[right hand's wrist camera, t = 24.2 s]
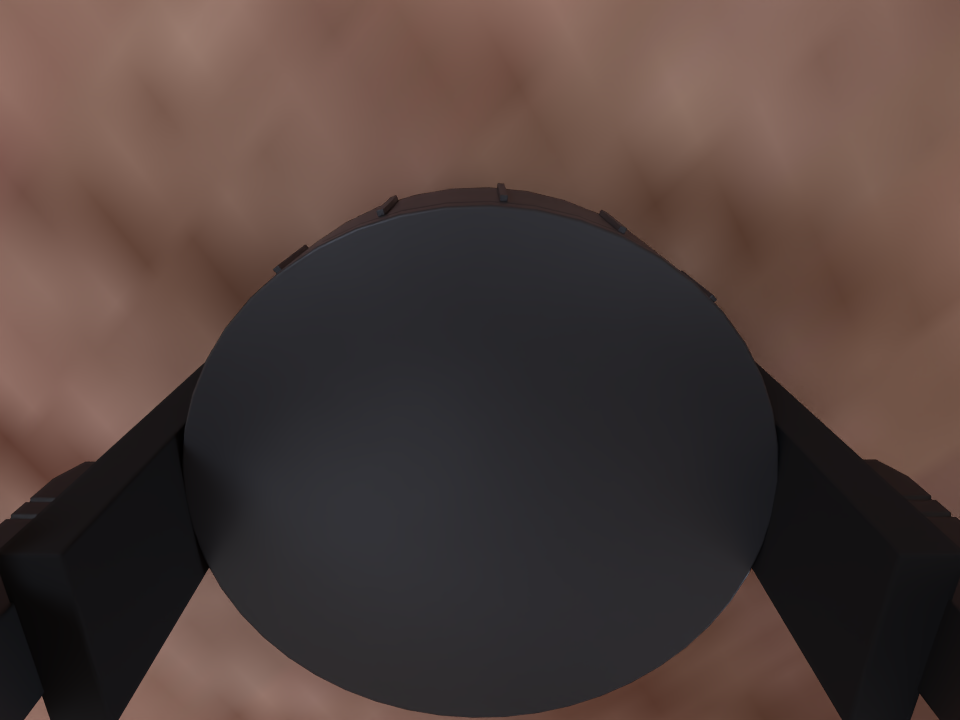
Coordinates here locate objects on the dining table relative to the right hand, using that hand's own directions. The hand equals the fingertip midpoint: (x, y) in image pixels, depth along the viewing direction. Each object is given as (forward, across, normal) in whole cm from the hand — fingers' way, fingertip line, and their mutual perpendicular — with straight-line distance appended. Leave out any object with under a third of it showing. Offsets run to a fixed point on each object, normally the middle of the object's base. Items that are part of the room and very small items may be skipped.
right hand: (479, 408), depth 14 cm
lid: (-3, 0, 0) cm, 3 cm away
